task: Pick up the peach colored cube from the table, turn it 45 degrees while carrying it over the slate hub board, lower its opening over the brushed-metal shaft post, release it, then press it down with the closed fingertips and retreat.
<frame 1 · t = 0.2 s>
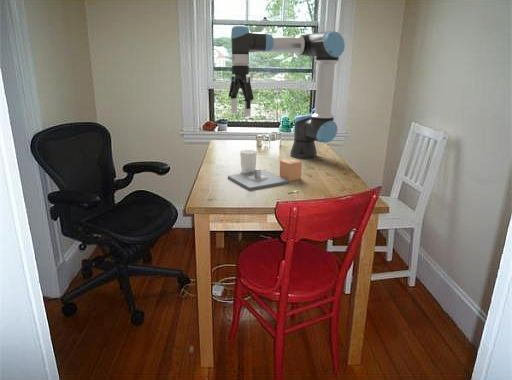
hand: (240, 114, 164), 28 cm above the table, fingers open, 13 cm apart
hub: (257, 180, 162), on the table
peach colored cube: (290, 178, 166), on the table
white cup: (248, 172, 175), on the table
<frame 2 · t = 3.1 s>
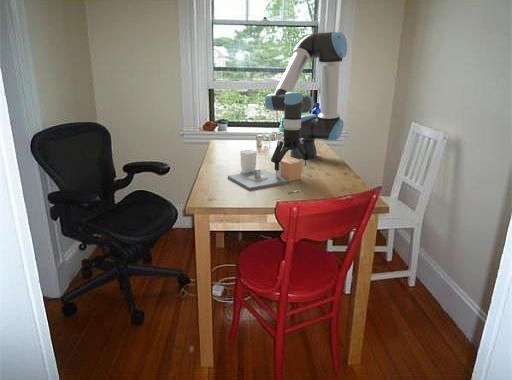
hand: (290, 175, 165), 1 cm above the table, fingers open, 13 cm apart
nothing on the table moved.
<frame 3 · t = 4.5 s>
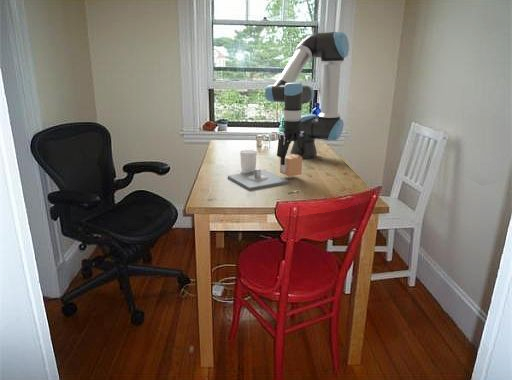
hand: (291, 170, 165), 4 cm above the table, fingers closed on peach colored cube, 7 cm apart
peach colored cube: (290, 173, 166), point 2 cm above the table, touching gripper
everything else where it was.
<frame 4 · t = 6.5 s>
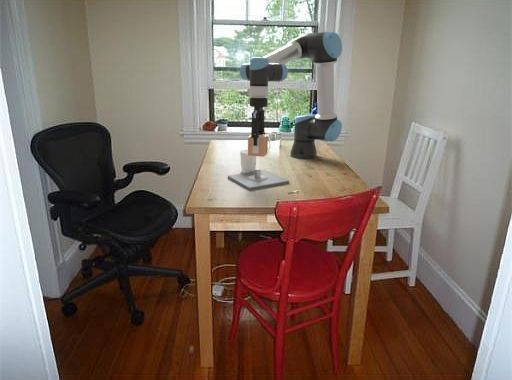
hand: (257, 151, 157), 14 cm above the table, fingers closed on peach colored cube, 7 cm apart
peach colored cube: (257, 154, 157), point 12 cm above the table, touching gripper
everything else where it was.
when the fingers open (2 cm above the table, at t = 8.7 s): peach colored cube stays where it is, resting on hub.
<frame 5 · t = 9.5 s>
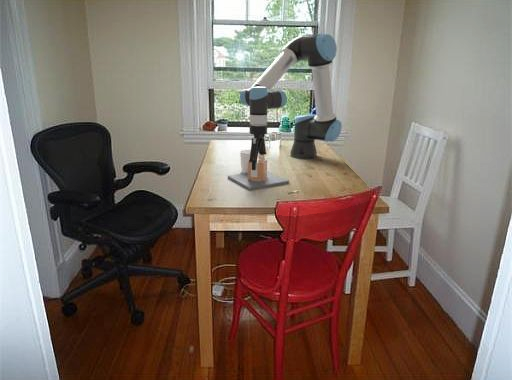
hand: (257, 172, 160), 4 cm above the table, fingers open, 13 cm apart
peach colored cube: (257, 177, 161), point 1 cm above the table, touching hub
everything else where it was.
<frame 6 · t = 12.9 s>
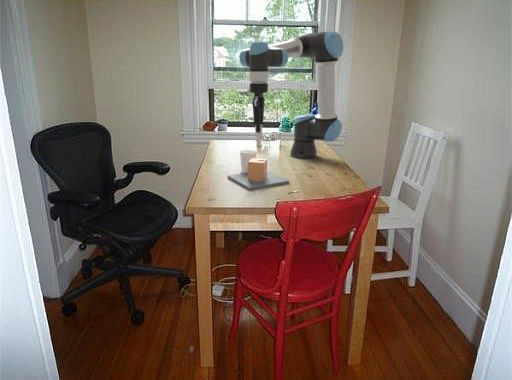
hand: (258, 139, 156), 19 cm above the table, fingers closed
nothing on the table moved.
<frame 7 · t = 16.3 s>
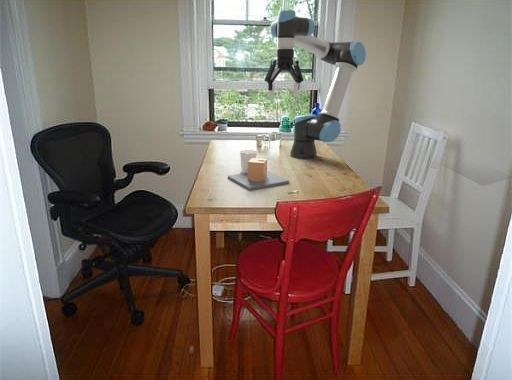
hand: (283, 97, 168), 35 cm above the table, fingers open, 13 cm apart
nothing on the table moved.
at the end: peach colored cube 0.1 cm off-centre on the hub, point 1.3 cm above the hub's base; peach colored cube tilted 0°; the gripper is holding nothing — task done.
